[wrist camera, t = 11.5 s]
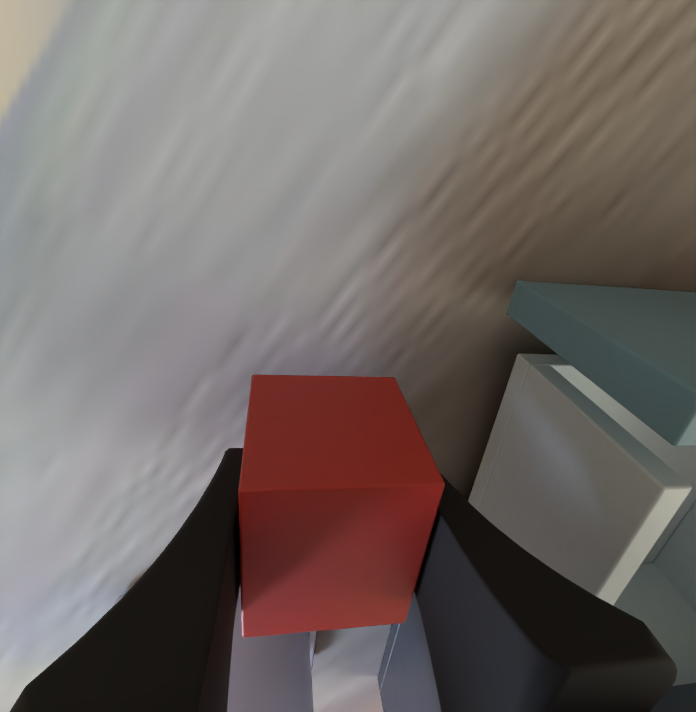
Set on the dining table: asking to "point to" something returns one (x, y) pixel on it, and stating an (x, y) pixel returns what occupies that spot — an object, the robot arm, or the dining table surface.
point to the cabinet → (417, 682)
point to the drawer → (604, 451)
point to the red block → (331, 504)
